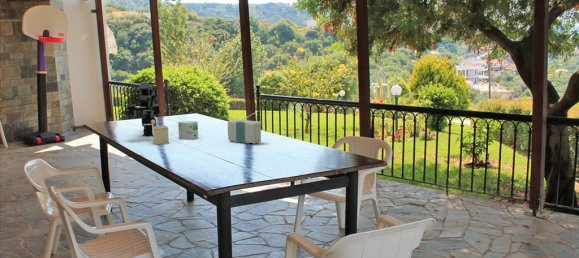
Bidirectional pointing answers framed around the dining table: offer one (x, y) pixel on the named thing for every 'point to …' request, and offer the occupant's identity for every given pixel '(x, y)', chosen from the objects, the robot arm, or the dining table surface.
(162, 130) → the kraft carton
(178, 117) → the dining table surface
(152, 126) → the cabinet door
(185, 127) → the light bulb box
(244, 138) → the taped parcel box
